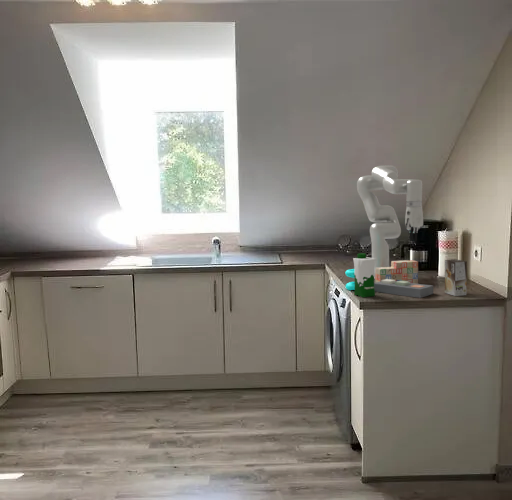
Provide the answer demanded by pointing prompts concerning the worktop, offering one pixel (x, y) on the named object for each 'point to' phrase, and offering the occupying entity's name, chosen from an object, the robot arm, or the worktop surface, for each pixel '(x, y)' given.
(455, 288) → the coffee box
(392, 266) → the stack of blocks
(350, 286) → the donuts
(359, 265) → the milk carton
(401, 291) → the key panel
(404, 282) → the sage key
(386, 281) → the cream key
